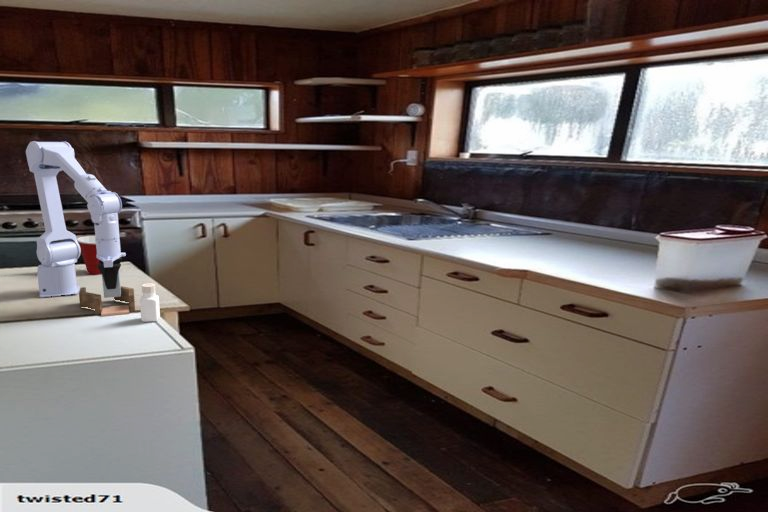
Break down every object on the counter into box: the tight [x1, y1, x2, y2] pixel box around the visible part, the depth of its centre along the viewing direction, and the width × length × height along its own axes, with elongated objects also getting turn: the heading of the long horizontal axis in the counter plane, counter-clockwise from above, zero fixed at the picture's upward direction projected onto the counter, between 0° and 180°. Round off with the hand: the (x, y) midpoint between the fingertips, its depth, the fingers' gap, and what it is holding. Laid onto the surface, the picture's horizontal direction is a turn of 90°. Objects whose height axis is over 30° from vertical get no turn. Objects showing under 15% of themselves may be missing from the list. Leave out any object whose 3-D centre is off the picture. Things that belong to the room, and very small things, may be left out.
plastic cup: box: [76, 235, 102, 276], centre depth 173 cm, size 11×11×12 cm
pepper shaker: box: [139, 282, 161, 323], centre depth 133 cm, size 4×4×10 cm
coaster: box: [100, 304, 130, 317], centre depth 139 cm, size 7×6×1 cm
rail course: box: [78, 285, 136, 315], centre depth 142 cm, size 13×12×4 cm
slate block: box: [101, 270, 121, 299], centre depth 141 cm, size 4×4×8 cm
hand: (111, 286), depth 141 cm, fingers closed on slate block, 4 cm apart
